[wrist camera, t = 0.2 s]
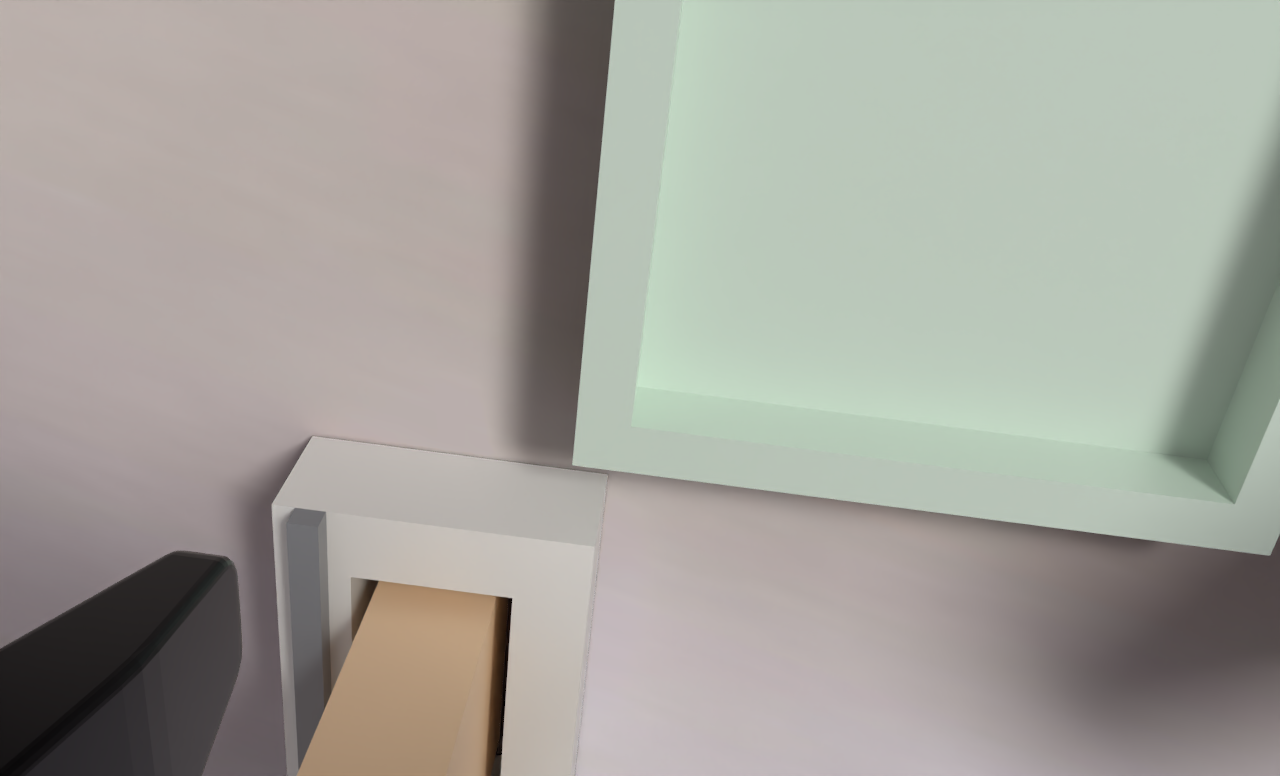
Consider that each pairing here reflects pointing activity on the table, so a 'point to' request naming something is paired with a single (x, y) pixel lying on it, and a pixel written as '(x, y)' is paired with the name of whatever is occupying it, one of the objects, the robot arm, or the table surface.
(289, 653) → the dispenser
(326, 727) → the tan cardboard block
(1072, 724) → the table surface
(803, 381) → the tray
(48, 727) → the robot arm
